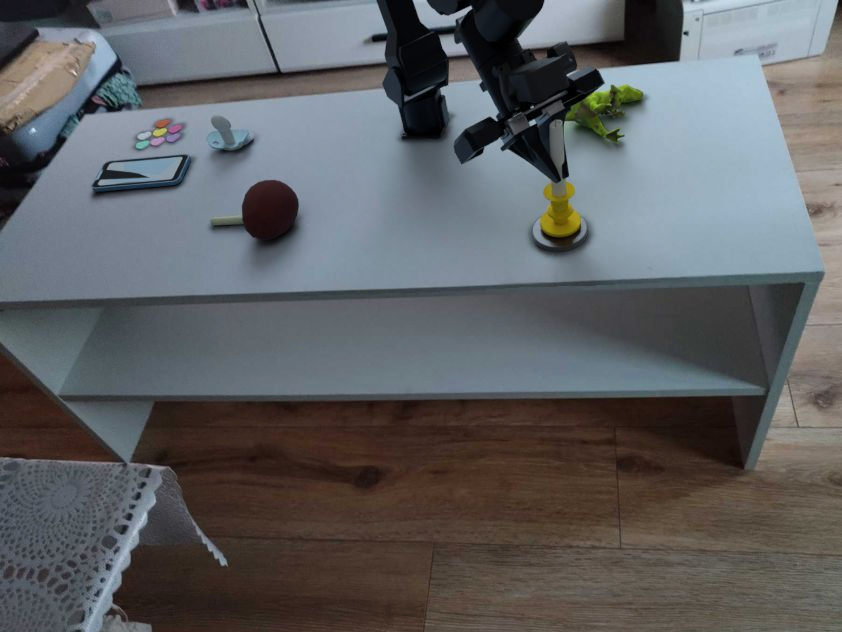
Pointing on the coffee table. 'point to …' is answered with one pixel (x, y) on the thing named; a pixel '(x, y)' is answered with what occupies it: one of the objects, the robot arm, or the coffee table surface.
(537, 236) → the coaster
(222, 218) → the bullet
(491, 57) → the robot arm
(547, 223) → the candle
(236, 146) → the pacifier
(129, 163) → the smartphone
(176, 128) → the candy hearts
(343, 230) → the coffee table surface
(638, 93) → the dinosaur figurine
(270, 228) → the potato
